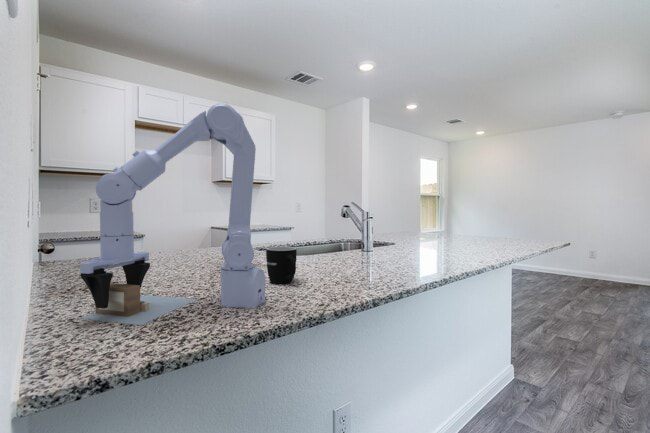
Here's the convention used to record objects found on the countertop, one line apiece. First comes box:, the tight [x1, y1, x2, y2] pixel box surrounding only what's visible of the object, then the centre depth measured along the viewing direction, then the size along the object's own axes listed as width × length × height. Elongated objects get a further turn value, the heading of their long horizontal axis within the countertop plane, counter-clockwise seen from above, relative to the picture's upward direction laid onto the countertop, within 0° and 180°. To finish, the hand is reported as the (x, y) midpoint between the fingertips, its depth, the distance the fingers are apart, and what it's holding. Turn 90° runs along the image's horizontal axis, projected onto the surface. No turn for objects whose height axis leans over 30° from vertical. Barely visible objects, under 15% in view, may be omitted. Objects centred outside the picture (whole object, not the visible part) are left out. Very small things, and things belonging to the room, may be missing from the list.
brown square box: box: [95, 282, 141, 317], centre depth 68 cm, size 8×3×6 cm, turn 76°
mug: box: [265, 246, 298, 285], centre depth 99 cm, size 12×9×10 cm
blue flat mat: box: [79, 294, 198, 326], centre depth 71 cm, size 14×17×3 cm
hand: (118, 302), depth 68 cm, fingers open, 7 cm apart
